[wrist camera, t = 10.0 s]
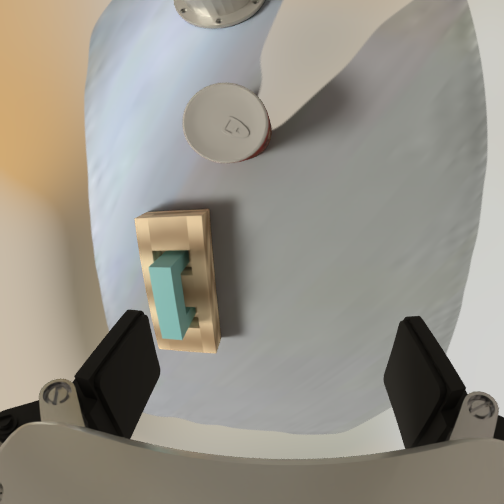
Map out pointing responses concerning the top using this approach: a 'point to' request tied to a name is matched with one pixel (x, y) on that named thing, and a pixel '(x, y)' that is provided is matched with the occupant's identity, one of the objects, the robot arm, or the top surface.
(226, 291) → the top surface
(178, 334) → the teal long block
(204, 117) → the canned food
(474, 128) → the top surface
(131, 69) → the top surface
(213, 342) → the tan slotted block
